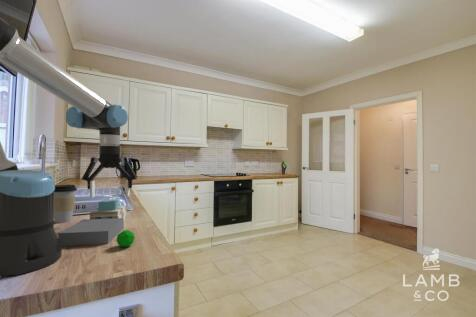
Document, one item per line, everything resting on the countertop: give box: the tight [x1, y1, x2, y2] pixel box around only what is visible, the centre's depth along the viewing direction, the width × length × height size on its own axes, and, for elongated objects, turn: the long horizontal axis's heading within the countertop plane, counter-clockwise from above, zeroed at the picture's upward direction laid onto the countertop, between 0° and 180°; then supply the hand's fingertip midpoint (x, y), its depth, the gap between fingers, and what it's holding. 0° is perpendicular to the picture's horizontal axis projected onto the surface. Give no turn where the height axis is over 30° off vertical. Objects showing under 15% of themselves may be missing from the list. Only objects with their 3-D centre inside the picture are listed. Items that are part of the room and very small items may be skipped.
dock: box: [57, 218, 125, 247], centre depth 80 cm, size 16×14×4 cm
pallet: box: [89, 205, 128, 221], centre depth 96 cm, size 12×10×6 cm
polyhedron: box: [116, 229, 136, 248], centre depth 71 cm, size 5×5×5 cm
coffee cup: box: [54, 184, 78, 224], centre depth 98 cm, size 9×9×15 cm
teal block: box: [98, 198, 121, 211], centre depth 96 cm, size 6×6×4 cm
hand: (110, 196), depth 96 cm, fingers open, 13 cm apart
